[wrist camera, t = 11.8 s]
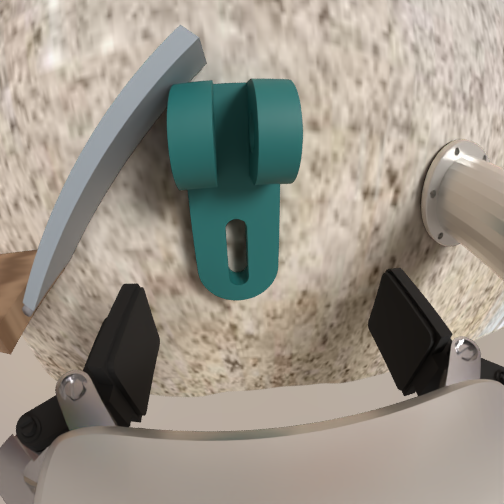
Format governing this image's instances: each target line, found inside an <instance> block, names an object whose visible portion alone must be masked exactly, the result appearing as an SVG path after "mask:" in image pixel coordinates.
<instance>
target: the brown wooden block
mask: <svg viewBox="0 0 504 504" xmlns="http://www.w3.org/2000/svg"><path fill="white" fill-rule="evenodd" d="M36 253H37V250H32V251H23V252H15V253H6V254H0V352H3V353H7V354H11V353H12V351H13V349H14V347H15V346H16V344H17V342H18V340H19V338H20V337H21V335H22V333H23V331H24V330H25V328H26V326H27V325H28V323H29V321H30V320H31V318H32V316H33V315H34V313H35V311H36V310H37V308H38V307H39V305H40V304H41V302H42V301H43V299H44V298H45V296H46V295H47V293H48V292H49V290H50V289H51V287H52V286H53V284H54V283H55V282H56V280H57V279H58V277H59V276H60V275H61V273H62V272H63V271H64V269H65V267H64V269H63V270H62V271H61V273H60V274H59V276H58V277H57V278H56V280H55V281H54V282H53V284H52V285H51V287H50V288H49V290H48V291H47V293H46V294H45V295H44V297H43V298H42V300H41V301H40V303H39V305H38V306H37V308H36V309H35V311H34V312H33V314H32V316H31V317H28V316H26V315H25V314H24V313H23V311H22V308H23V306H24V305H25V304H24V303H23V299H24V295H25V291H26V287H27V283H28V279H29V276H30V272H31V269H32V266H33V262H34V259H35V256H36Z"/></svg>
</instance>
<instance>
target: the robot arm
mask: <svg viewBox="0 0 504 504" xmlns="http://www.w3.org/2000/svg"><path fill="white" fill-rule="evenodd" d="M421 212H422V219H423V224H424V226H425V228H426V231H427V232H428V234H429V235H430V236H431V237H432V238H433V239H434V240H435V241H436V242H437V243H439V244H441V245H443V246H456V245H458V244H462V245H463V246H464V247H465V248H467V249H468V250H469V251H470V252H471V253H473V254H474V255H475V256H476V257H477V258H479V259H480V260H481V261H482V262H483V263H484V264H485V265H487V266H488V267H489V268H490V269H491V270H492V271H493V272H494V273H496V274H497V275H498V276H499V277H500V278H501V279H502V280H503V281H504V169H503V168H501V167H499V166H496V165H494V164H492V163H491V162H490V160H489V158H488V155H487V154H486V152H485V151H484V149H483V148H482V147H481V146H480V145H479V144H477V143H475V142H473V141H469V140H466V139H458V140H455V141H452V142H450V143H449V144H447V145H446V146H445V147H444V148H443V149H442V150H441V151H440V152H439V153H438V154H437V156H436V157H435V159H434V160H433V162H432V164H431V166H430V168H429V170H428V173H427V176H426V179H425V182H424V186H423V191H422V200H421ZM368 327H369V330H370V332H371V334H372V336H373V338H374V340H375V342H376V344H377V346H378V348H379V350H380V352H381V354H382V356H383V358H384V360H385V363H386V365H387V367H388V369H389V371H390V373H391V375H392V377H393V379H394V382H395V384H396V386H397V388H398V389H399V390H402V393H403V395H404V396H406V395H410V394H413V393H415V392H416V393H417V395H418V396H417V397H415V398H412V399H409V400H406V401H403V402H400V403H396V404H393V405H390V406H386V407H383V408H379V409H376V410H372V411H368V412H364V413H360V414H356V415H351V416H347V417H343V418H337V419H333V420H328V421H322V422H316V423H310V424H303V425H296V426H289V427H281V428H271V429H260V430H246V431H245V430H244V431H217V432H216V431H215V432H214V431H213V432H210V431H209V432H208V431H207V432H205V431H172V430H155V429H144V428H131V427H129V426H130V423H131V421H133V422H141V418H142V415H146V411H147V405H148V401H149V395H150V390H151V384H152V379H153V374H154V369H155V364H156V359H157V355H158V350H159V345H160V339H159V335H158V332H157V329H156V326H155V323H154V320H153V317H152V313H151V310H150V307H149V304H148V300H147V297H146V294H145V290H144V288H143V287H140V286H139V285H138V284H123V286H122V287H121V289H120V291H119V294H118V296H117V298H116V300H115V302H114V304H113V306H112V308H111V310H110V313H109V315H108V317H107V318H106V319H105V320H104V322H103V324H102V326H101V328H100V331H99V333H98V335H97V337H96V340H95V342H94V344H93V347H92V349H91V352H90V354H89V357H88V359H87V362H86V364H85V367H84V369H83V371H80V370H72V371H69V372H67V373H65V374H64V375H62V377H61V378H60V379H59V380H58V382H57V385H56V389H55V391H56V396H54V397H52V398H51V399H49V400H47V401H46V402H44V403H42V404H40V405H39V406H37V407H35V408H34V409H32V410H30V411H28V412H27V413H25V414H24V415H22V416H21V417H20V419H19V420H18V422H17V425H16V436H14V435H13V434H12V435H11V436H10V437H9V438H8V439H7V440H6V441H5V443H4V444H3V445H2V446H1V447H0V495H1V497H2V498H3V500H4V501H5V503H6V504H504V367H502V366H500V365H497V364H495V363H492V362H490V361H487V360H485V359H483V358H481V352H480V349H479V347H478V346H477V344H476V343H475V342H474V341H473V340H471V339H469V338H467V337H457V338H455V339H454V340H453V341H452V340H451V336H452V333H451V331H450V330H449V328H448V327H447V326H446V324H445V323H444V322H443V320H442V319H441V317H440V316H439V315H438V313H437V312H436V311H435V310H434V308H433V307H432V306H431V304H430V303H429V302H428V300H427V299H426V298H425V297H424V295H423V294H422V293H421V292H420V290H419V289H418V288H417V287H416V285H415V284H414V283H413V282H412V281H411V279H410V278H409V277H408V276H407V275H406V273H405V272H404V271H403V270H402V269H401V268H394V269H388V270H387V271H386V272H385V273H384V274H383V275H382V278H381V282H380V285H379V289H378V292H377V296H376V299H375V302H374V306H373V309H372V312H371V315H370V318H369V321H368Z"/></svg>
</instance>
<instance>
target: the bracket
mask: <svg viewBox="0 0 504 504" xmlns="http://www.w3.org/2000/svg"><path fill="white" fill-rule="evenodd" d="M167 138H168V149H169V157H170V163H171V169H172V173H173V177H174V180H175V183H176V186H177V188H178V189H179V190H188V198H189V207H190V215H191V224H192V232H193V239H194V247H195V254H196V261H197V268H198V274H199V277H200V280H201V282H202V283H203V285H204V286H205V287H206V288H207V289H208V290H209V291H210V292H211V293H213V294H214V295H216V296H218V297H221V298H224V299H228V300H245V299H249V298H252V297H255V296H257V295H259V294H261V293H262V292H264V291H265V290H266V289H267V288H268V287H269V286H270V285H271V284H272V283H273V281H274V279H275V277H276V275H277V271H278V256H279V216H280V184H291V183H293V182H294V181H295V179H296V177H297V174H298V171H299V167H300V162H301V155H302V143H303V124H302V112H301V105H300V100H299V96H298V92H297V89H296V87H295V85H294V83H293V82H292V81H291V80H289V79H250V80H249V81H248V82H247V83H222V84H213V82H212V80H210V81H198V82H189V83H180V84H173V85H172V87H171V89H170V92H169V97H168V106H167ZM233 219H240V220H242V221H244V222H245V232H246V259H247V266H246V268H245V269H244V270H243V271H241V272H233V271H231V270H230V269H229V267H228V256H227V242H226V225H227V223H228V222H229V221H231V220H233Z"/></svg>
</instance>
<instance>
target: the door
mask: <svg viewBox="0 0 504 504" xmlns="http://www.w3.org/2000/svg"><path fill="white" fill-rule="evenodd" d="M206 64H207V62H206V59H205V56H204V52H203V49H202V46H201V42H200V39H199V37H198V36H196V35H195V34H193V33H192V32H190V31H189V30H187V29H186V28H184V27H183V26H181V25H180V26H179V27H178V28H176V29H175V30H174V31H173V32H172V33H171V34H170V35H169V36H168V37H167V38H166V40H165V41H164V42H163V43H162V44H161V45H160V46H159V47H158V48H157V49H156V50H155V51H154V52H153V53H152V55H151V56H150V57H149V58H148V59H147V60H146V61H145V62H144V64H143V65H142V66H141V67H140V68H139V70H138V71H137V72H136V73H135V74H134V76H133V77H132V78H131V79H130V81H129V82H128V83H127V84H126V86H125V87H124V88H123V90H122V91H121V92H120V94H119V95H118V96H117V98H116V99H115V101H114V102H113V103H112V105H111V106H110V108H109V109H108V110H107V112H106V113H105V115H104V116H103V118H102V119H101V121H100V122H99V124H98V126H97V127H96V129H95V130H94V132H93V133H92V135H91V137H90V138H89V140H88V142H87V143H86V145H85V147H84V149H83V150H82V152H81V154H80V156H79V157H78V159H77V161H76V163H75V165H74V167H73V169H72V170H71V172H70V174H69V176H68V178H67V180H66V182H65V184H64V186H63V188H62V191H61V193H60V195H59V197H58V199H57V202H56V204H55V206H54V208H53V211H52V213H51V215H50V218H49V220H48V223H47V225H46V228H45V231H44V233H43V236H42V239H41V241H40V244H39V247H38V250H37V253H36V256H35V259H34V262H33V266H32V269H31V272H30V276H29V279H28V283H27V287H26V291H25V295H24V299H23V303H24V304H25V305H24V306H23V308H22V311H23V313H24V314H25V315H26V316H28V317H31V316H32V314H33V312H34V311H35V309H36V308H37V306H38V305H39V303H40V301H41V300H42V298H43V297H44V295H45V294H46V293H47V291H48V290H49V288H50V287H51V285H52V284H53V282H54V281H55V280H56V278H57V277H58V276H59V274H60V273H61V271H62V270H63V269H64V267H65V266H66V265H67V263H68V262H69V261H70V259H71V257H72V255H73V253H74V251H75V249H76V247H77V245H78V243H79V241H80V239H81V237H82V235H83V233H84V231H85V229H86V227H87V225H88V223H89V221H90V220H91V218H92V216H93V214H94V212H95V211H96V209H97V207H98V205H99V204H100V202H101V200H102V198H103V197H104V195H105V193H106V192H107V190H108V189H109V187H110V185H111V184H112V182H113V181H114V179H115V177H116V176H117V174H118V173H119V171H120V170H121V168H122V167H123V165H124V164H125V162H126V161H127V159H128V158H129V156H130V155H131V154H132V152H133V151H134V149H135V148H136V146H137V145H138V144H139V142H140V141H141V140H142V138H143V137H144V136H145V134H146V133H147V132H148V130H149V129H150V128H151V126H152V125H153V124H154V123H155V121H156V120H157V119H158V118H159V116H160V115H161V114H162V113H163V111H164V110H165V109H166V108H167V106H168V97H169V92H170V89H171V87H172V85H173V84H180V83H189V81H190V80H191V79H192V78H193V77H194V76H195V75H196V74H197V73H198V72H199V71H200V70H201V69H202V68H203V67H204V66H205V65H206Z"/></svg>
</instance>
